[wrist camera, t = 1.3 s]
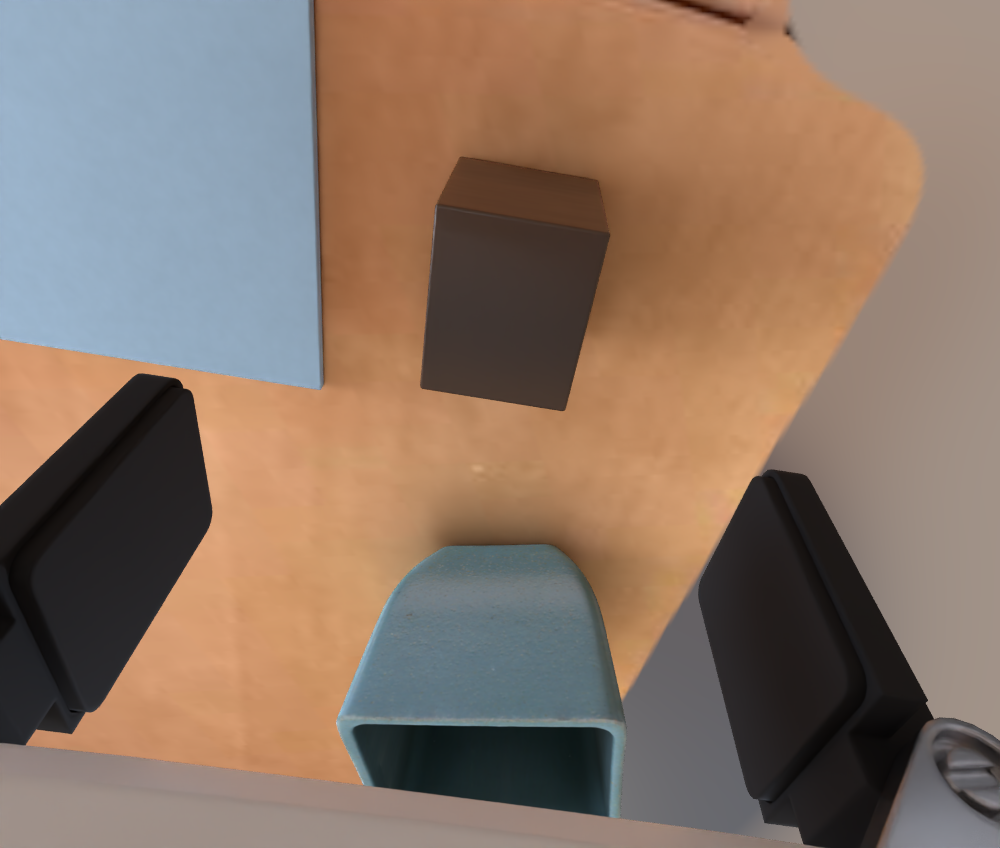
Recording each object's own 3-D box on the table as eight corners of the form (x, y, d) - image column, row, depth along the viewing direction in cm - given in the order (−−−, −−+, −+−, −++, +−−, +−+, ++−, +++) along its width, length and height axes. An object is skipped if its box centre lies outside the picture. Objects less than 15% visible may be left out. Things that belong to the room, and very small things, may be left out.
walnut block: (459, 155, 17) (435, 204, 14) (599, 179, 18) (611, 233, 14) (443, 315, 20) (419, 389, 17) (562, 335, 21) (565, 412, 17)
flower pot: (606, 506, 25) (629, 725, 18) (603, 640, 30) (620, 852, 23) (392, 509, 26) (329, 719, 19) (424, 639, 31) (385, 842, 24)
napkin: (-388, -390, 12) (-414, -400, 12) (307, -256, 13) (301, -262, 13) (-72, 321, 22) (-81, 326, 22) (324, 384, 22) (320, 390, 22)
